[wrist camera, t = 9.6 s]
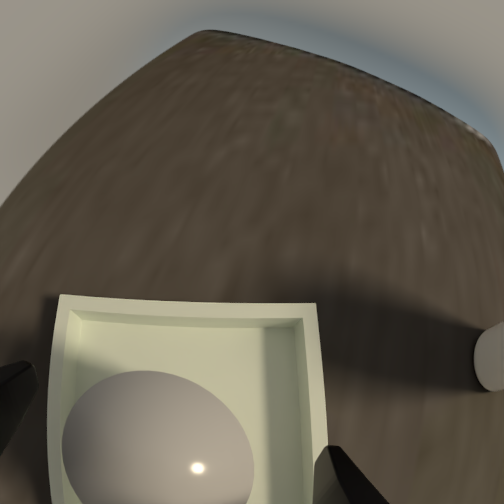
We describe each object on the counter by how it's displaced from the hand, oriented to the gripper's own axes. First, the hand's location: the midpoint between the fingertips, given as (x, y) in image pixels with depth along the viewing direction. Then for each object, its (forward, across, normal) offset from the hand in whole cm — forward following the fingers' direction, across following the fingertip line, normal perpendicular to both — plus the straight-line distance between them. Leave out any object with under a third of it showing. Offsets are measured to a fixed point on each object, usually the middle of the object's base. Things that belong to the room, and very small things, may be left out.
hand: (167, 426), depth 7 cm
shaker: (+5, 0, +6) cm, 8 cm away
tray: (+5, 0, +7) cm, 9 cm away
